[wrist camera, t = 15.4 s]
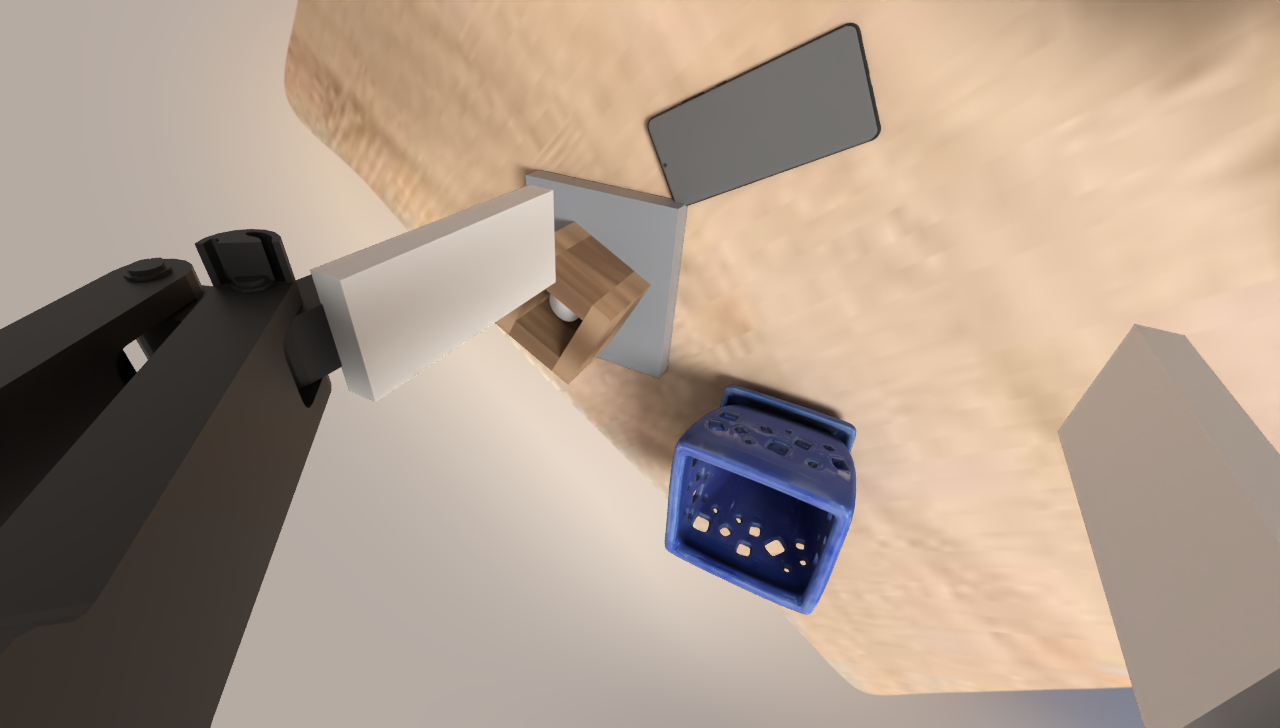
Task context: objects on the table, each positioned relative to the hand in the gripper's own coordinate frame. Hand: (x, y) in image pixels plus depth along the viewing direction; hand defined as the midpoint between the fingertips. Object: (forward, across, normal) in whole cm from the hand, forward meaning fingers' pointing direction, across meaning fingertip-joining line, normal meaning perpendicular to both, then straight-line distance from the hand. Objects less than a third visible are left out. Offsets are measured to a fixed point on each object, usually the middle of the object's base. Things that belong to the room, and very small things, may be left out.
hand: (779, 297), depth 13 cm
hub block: (+25, -20, -17) cm, 36 cm away
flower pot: (+27, 0, -27) cm, 38 cm away
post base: (+27, -19, -15) cm, 36 cm away
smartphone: (+27, -8, -1) cm, 28 cm away
